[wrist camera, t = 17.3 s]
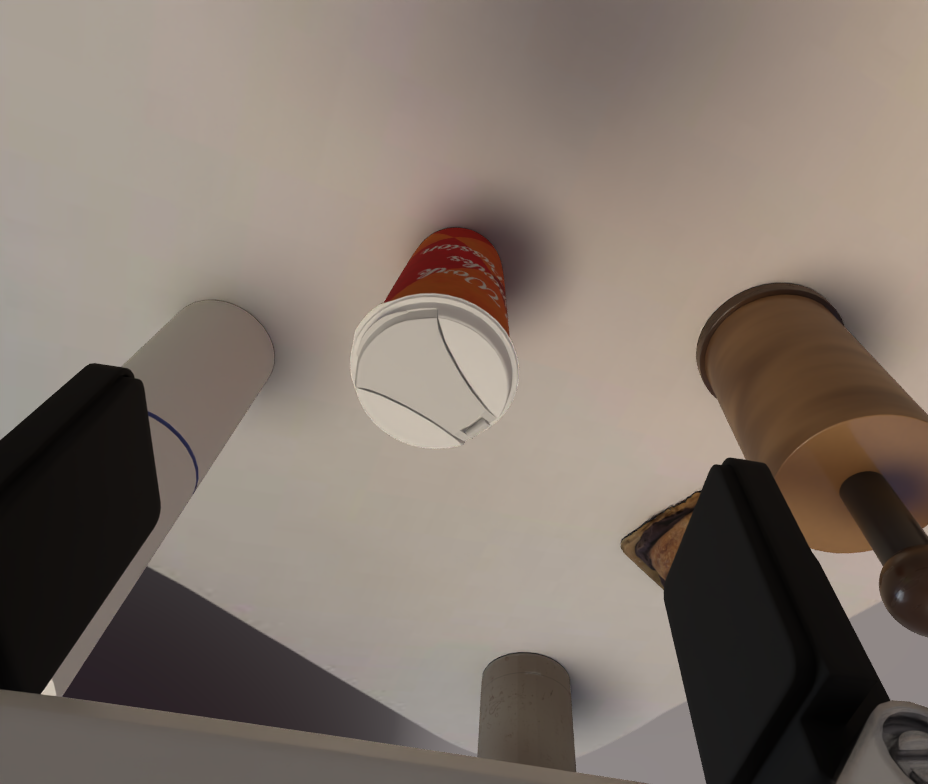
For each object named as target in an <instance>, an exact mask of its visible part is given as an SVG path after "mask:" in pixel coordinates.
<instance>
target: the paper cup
mask: <svg viewBox="0 0 928 784" xmlns="http://www.w3.org/2000/svg"><path fill="white" fill-rule="evenodd" d="M350 371H351V377H352V381H353V384H354V387H355V390H356V393H357V395H358V398H359V401H360V403H361V405H362V407H363V409H364V411H365V412H366V413H367V415H368V416H369V417H370V419H371V420H372V421H373V422H374V423H375V424H376V425H377V426H378V427H379V428H380V429H381V430H383V431H384V432H385V433H387V434H388V435H390V436H391V437H393V438H395V439H397V440H399V441H401V442H404V443H406V444H409V445H413V446H416V447H421V448H429V449H444V448H452V447H456V446H460V445H463V444H464V443H465V441H466V440H468V439H469V438H471V439H473V438H474V437H475V436H477V435H478V434H480V433H482V432H483V431H485V430H486V429H488V428H490V427H491V426H492V425H494V424H495V423H496V422H497V421H498V420H499V419H500V418H501V417H502V416H503V415H504V414H505V412H506V411H507V410H508V408H509V407H510V405H511V403H512V401H513V399H514V397H515V394H516V391H517V388H518V382H519V363H518V357H517V353H516V350H515V348H514V345H513V342H512V341H511V339H510V337H509V326H508V314H507V304H506V293H505V284H504V276H503V269H502V264H501V261H500V258H499V255H498V253H497V251H496V250H495V248H494V247H493V245H492V244H491V243H490V242H489V241H488V240H487V239H486V238H485V237H483V236H482V235H480V234H479V233H477V232H475V231H472V230H469V229H465V228H447V229H443V230H440V231H437V232H435V233H433V234H432V235H430V236H429V237H427V238H426V239H425V240H424V241H423V242H422V243H421V244H420V246H419V247H418V248H417V250H416V251H415V253H414V254H413V256H412V257H411V259H410V260H409V262H408V263H407V265H406V267H405V268H404V270H403V272H402V273H401V275H400V276H399V278H398V280H397V281H396V283H395V285H394V286H393V288H392V290H391V291H390V293H389V295H388V296H387V298H386V300H385V301H384V303H381V304H379V305H378V306H377V307H375V308H374V309H373V310H371V311H370V312H369V313H368V314H367V315H366V316H365V317H364V319H363V320H362V321H361V322H360V324H359V325H358V327H357V329H356V330H355V333H354V339H353V345H352V350H351V355H350Z"/></svg>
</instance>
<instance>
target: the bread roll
mask: <svg viewBox="0 0 928 784" xmlns="http://www.w3.org/2000/svg"><path fill="white" fill-rule="evenodd" d="M699 496H700V493H695V494H693V495H692V497H691V498H688V499H687V501H686V503H681V504H680V505H679V506H678V505H677V506H676V507H675V508H673V506H672V507H671V508H672V510H670V511H668V510H669V509H667V510H666V511H665V513H662V514H660V515H659V516H656V519H653V520H652V521H651V522H648V523H647V524H645V525H644V526H643V527H642V528H640V529H639V530H638V531H637V532H634V533H633V534H632V535H629V536H628V537H627V538H625V539H623V541H621V549H622V550H623V552H624V553H625V554H626V555H627V556H628V557H629V558H630V559H631V560H632V561H633V562H634V563H635V564H636V565H637V566H638V567H639V568H641V570H643V571H644V572H645V573H646V574H647V575H648V576H649V577H650V578H651V579H652V580H654V581H655V582H656V583H657V584H658V585H659V586H660V587H661V588H662V589H663V590H664V585H665V580H666V577H667V575H668V572H669V570H670V567H671V565H672V562H673V560H674V558H675V555H676V553H677V550H678V548H679V545H680V543H681V540H682V538H683V535H684V533H685V530H686V528H687V525H688V523H689V520H690V518H691V515H692V513H693V510H694V508H695V506H696V503H697V501H698V498H699Z"/></svg>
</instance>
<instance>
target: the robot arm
mask: <svg viewBox="0 0 928 784" xmlns="http://www.w3.org/2000/svg"><path fill="white" fill-rule="evenodd" d="M160 511H161V501H160V494H159V487H158V480H157V473H156V466H155V459H154V452H153V445H152V438H151V431H150V424H149V417H148V410H147V403H146V396H145V389H144V385H143V382H142V381H141V380H140V379H137V378H135V377H134V374H133V373H132V371H131V370H130V369H128V368H123V367H116V366H109V365H103V364H96V363H93V364H89V365H87V366H85V367H84V368H83V369H82V370H81V371H80V372H79V373H77V374H76V375H75V376H74V377H73V378H72V379H71V380H69V381H68V382H67V383H66V384H65V385H64V386H62V387H61V388H60V389H59V390H58V391H57V392H56V393H54V394H53V395H52V396H51V397H50V398H49V399H47V400H46V401H45V402H44V403H43V404H42V405H41V406H39V407H38V408H37V409H36V410H35V411H34V412H32V413H31V414H30V415H29V416H28V417H27V418H26V419H24V420H23V421H22V422H21V423H20V424H19V425H17V426H16V427H15V428H14V429H13V430H12V431H11V432H9V433H8V434H7V435H6V436H5V437H4V438H2V439H1V440H0V784H647V783H641V782H635V781H629V780H622V779H616V778H609V777H603V776H596V775H589V774H583V773H577V772H570V771H564V770H557V769H551V768H544V767H537V766H531V765H524V764H518V763H511V762H505V761H498V760H492V759H485V758H479V757H471V756H465V755H459V754H452V753H445V752H439V751H432V750H425V749H418V748H411V747H405V746H398V745H391V744H385V743H377V742H371V741H365V740H358V739H351V738H344V737H337V736H330V735H324V734H317V733H310V732H303V731H296V730H290V729H282V728H275V727H269V726H262V725H255V724H248V723H241V722H235V721H228V720H221V719H214V718H206V717H199V716H192V715H185V714H178V713H171V712H164V711H157V710H150V709H143V708H136V707H129V706H121V705H115V704H108V703H101V702H94V701H87V700H79V699H73V698H72V699H71V698H65V697H58V696H50V695H42V694H41V693H42V692H43V691H44V689H45V688H46V686H47V685H48V683H49V682H50V680H51V679H52V677H53V676H54V674H55V673H56V671H57V670H58V668H59V667H60V666H61V664H62V663H63V661H64V660H65V658H66V657H67V655H68V654H69V652H70V651H71V649H72V648H73V646H74V645H75V644H76V642H77V641H78V639H79V638H80V636H81V635H82V633H83V632H84V630H85V629H86V627H87V626H88V624H89V623H90V622H91V620H92V619H93V617H94V616H95V614H96V613H97V611H98V610H99V608H100V607H101V605H102V604H103V602H104V601H105V600H106V598H107V597H108V595H109V594H110V592H111V591H112V589H113V588H114V586H115V585H116V583H117V582H118V580H119V579H120V577H121V576H122V575H123V573H124V572H125V570H126V569H127V567H128V566H129V564H130V563H131V561H132V560H133V558H134V557H135V555H136V554H137V553H138V551H139V550H140V548H141V547H142V545H143V544H144V542H145V541H146V539H147V538H148V536H149V535H150V533H151V532H152V531H153V529H154V528H155V526H156V524H157V522H158V519H159V516H160ZM664 602H665V606H666V611H667V615H668V619H669V624H670V628H671V632H672V637H673V641H674V645H675V650H676V654H677V658H678V663H679V667H680V671H681V676H682V680H683V684H684V689H685V693H686V697H687V702H688V706H689V710H690V715H691V719H692V723H693V727H694V732H695V736H696V741H697V745H698V749H699V754H700V758H701V762H702V767H703V771H704V775H705V780H706V784H928V708H927V707H924V706H921V705H918V704H915V703H911V702H905V701H893V700H892V701H890V699H889V697H888V695H887V693H886V691H885V689H884V687H883V685H882V683H881V681H880V679H879V677H878V676H877V674H876V672H875V670H874V668H873V666H872V664H871V662H870V660H869V658H868V656H867V654H866V652H865V650H864V648H863V646H862V645H861V642H860V641H859V639H858V637H857V635H856V633H855V631H854V629H853V627H852V625H851V623H850V621H849V619H848V617H847V615H846V613H845V611H844V610H843V608H842V606H841V604H840V602H839V600H838V598H837V596H836V594H835V592H834V590H833V588H832V586H831V584H830V582H829V580H828V579H827V577H826V575H825V573H824V571H823V569H822V567H821V565H820V563H819V561H818V560H817V558H816V557H815V556H814V554H813V553H812V551H811V549H810V547H809V545H808V543H807V541H806V539H805V537H804V535H803V533H802V532H801V530H800V528H799V526H798V524H797V522H796V520H795V518H794V516H793V514H792V512H791V510H790V508H789V506H788V504H787V502H786V500H785V498H784V496H783V494H782V493H781V491H780V489H779V487H778V485H777V483H776V481H775V479H774V477H773V475H772V473H771V471H770V469H769V467H768V466H767V465H766V464H765V463H763V462H756V461H750V460H743V459H736V458H727V459H726V460H725V461H724V462H723V463H722V465H713V466H712V467H711V469H710V471H709V473H708V476H707V478H706V481H705V483H704V486H703V488H702V491H701V493H700V496H699V498H698V501H697V503H696V506H695V508H694V510H693V513H692V515H691V518H690V520H689V523H688V525H687V528H686V530H685V533H684V535H683V538H682V540H681V543H680V545H679V548H678V550H677V553H676V555H675V558H674V560H673V562H672V565H671V567H670V570H669V572H668V575H667V577H666V580H665V585H664Z"/></svg>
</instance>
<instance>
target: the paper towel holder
mask: <svg viewBox="0 0 928 784" xmlns="http://www.w3.org/2000/svg"><path fill="white" fill-rule="evenodd" d="M696 360H697V366H698V370H699V372H700V375H701V377H702V380H703V382H704V384H705V385H706V387H707V389H708V390H709V391H710V392H711V394H712V395H713V396H714V397H715V398H717V400H718V402H719V404H720V406H721V408H722V410H723V412H724V415H725V417H726V419H727V421H728V423H729V425H730V427H731V429H732V431H733V434H734V436H735V438H736V440H737V442H738V444H739V446H740V448H741V451H742V453H743V455H744V457H745V459H746V460H750V461H756V462H763V463H765V464H766V465H767V466H768V467H769V469H770V471H771V473H772V475H773V477H774V479H775V481H776V483H777V485H778V487H779V489H780V491H781V493H782V494H783V496H784V498H785V500H786V502H787V504H788V506H789V508H790V510H791V512H792V514H793V516H794V518H795V520H796V522H797V524H798V526H799V528H800V530H801V532H802V533H803V535H804V537H805V539H806V541H807V543H808V545H809V547H810V548H812V549H815V550H819V551H824V552H831V553H857V552H865V551H870V550H873V551H874V552H875V554H876V556H877V557H878V559H879V561H880V562H881V564H882V565H883V568H882V571H881V573H880V578H879V591H880V595H881V598H882V601H883V603H884V605H885V607H886V609H887V610H888V611H889V613H890V614H891V615H892V616H893V618H894V619H895V620H897V621H898V622H899V623H900V624H901V625H902V626H904V627H906V628H907V629H909V630H911V631H912V632H914V633H917V634H919V635H922V636H925V637H928V536H927V535H926V533H925V532H924V530H923V529H922V528H924V527H925V526H927V525H928V415H927V414H926V412H925V411H924V410H923V409H922V408H921V407H920V406H919V405H918V404H917V403H916V402H915V401H914V400H913V399H912V398H911V397H910V396H909V395H908V393H907V392H906V391H905V390H904V389H903V388H902V387H901V386H900V385H899V384H898V383H897V382H896V381H895V380H894V379H893V378H892V377H891V376H890V374H889V373H888V372H887V371H886V370H885V369H884V368H883V367H882V366H881V365H880V364H879V363H878V362H877V361H876V360H875V359H874V358H873V357H872V355H871V354H870V353H869V352H868V351H867V350H866V349H865V348H864V347H863V346H862V345H861V344H860V343H859V342H858V341H857V340H856V339H855V338H854V336H853V335H852V334H851V333H850V332H849V331H848V330H847V329H846V328H845V327H844V323H843V321H842V319H841V316H840V315H839V313H838V312H837V310H836V309H835V308H834V307H833V306H832V305H831V304H830V303H829V302H828V301H827V300H826V299H825V298H824V297H823V296H821V295H820V294H819V293H817V292H815V291H813V290H812V289H809V288H807V287H804V286H800V285H796V284H788V283H773V284H767V285H762V286H758V287H754V288H751V289H749V290H746V291H744V292H742V293H740V294H738V295H736V296H734V297H733V298H731V299H730V300H728V301H727V302H726V303H724V304H723V305H722V306H721V307H720V308H719V309H718V310H717V311H716V312H715V313H714V314H713V315H712V316H711V317H710V319H709V320H708V321H707V323H706V325H705V326H704V328H703V330H702V332H701V335H700V337H699V341H698V344H697V351H696Z"/></svg>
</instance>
